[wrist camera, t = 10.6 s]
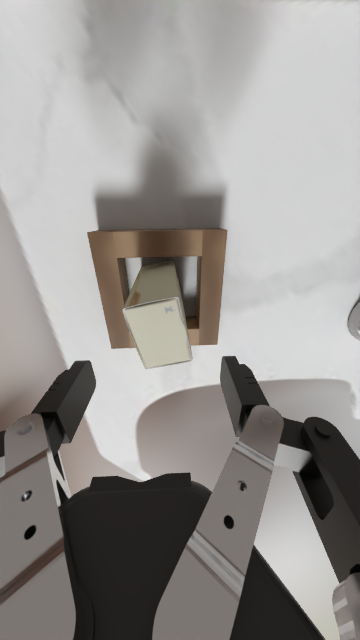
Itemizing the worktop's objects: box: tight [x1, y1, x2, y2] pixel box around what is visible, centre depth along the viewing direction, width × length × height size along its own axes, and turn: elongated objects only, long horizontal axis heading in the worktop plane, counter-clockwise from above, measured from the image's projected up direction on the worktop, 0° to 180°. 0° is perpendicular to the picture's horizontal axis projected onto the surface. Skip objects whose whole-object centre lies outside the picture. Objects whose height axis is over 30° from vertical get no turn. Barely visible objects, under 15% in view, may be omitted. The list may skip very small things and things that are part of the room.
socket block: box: [87, 228, 227, 349], centre depth 25 cm, size 14×14×4 cm
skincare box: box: [123, 260, 192, 369], centre depth 21 cm, size 6×4×12 cm
